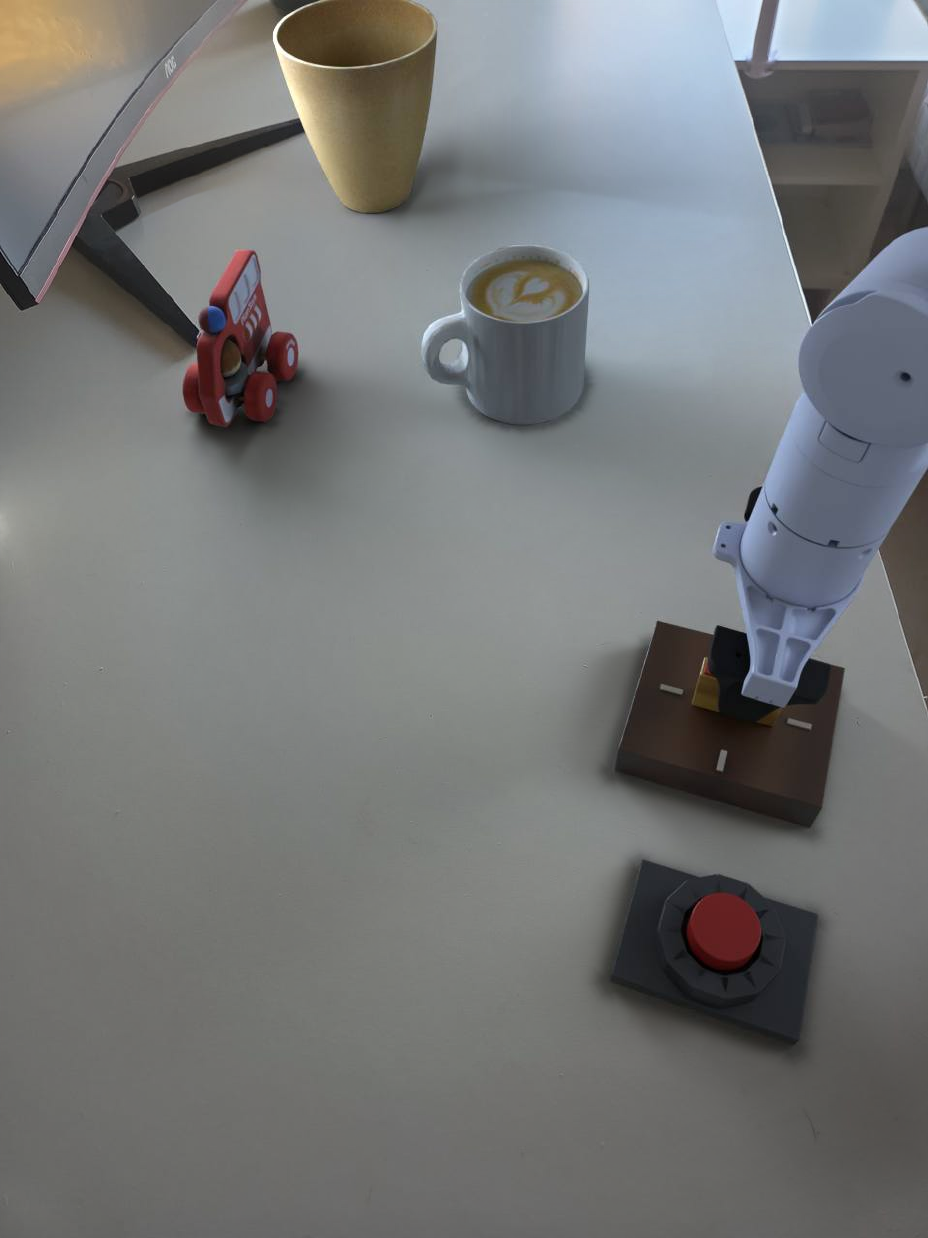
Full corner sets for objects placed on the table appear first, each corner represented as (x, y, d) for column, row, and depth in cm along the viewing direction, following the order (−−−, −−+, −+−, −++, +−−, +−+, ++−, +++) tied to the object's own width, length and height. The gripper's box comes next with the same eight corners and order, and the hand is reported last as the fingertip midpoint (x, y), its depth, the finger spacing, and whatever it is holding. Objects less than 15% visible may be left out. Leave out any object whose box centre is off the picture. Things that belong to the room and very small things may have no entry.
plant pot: (360, 253, 94) (334, 84, 81) (278, 192, 101) (242, 28, 88) (477, 194, 99) (470, 25, 86) (391, 140, 106) (373, -23, 93)
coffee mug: (572, 340, 85) (577, 237, 76) (593, 417, 79) (600, 315, 71) (421, 357, 84) (410, 256, 76) (431, 436, 79) (420, 335, 70)
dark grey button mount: (813, 921, 54) (827, 903, 52) (794, 1046, 51) (808, 1033, 48) (639, 866, 57) (645, 846, 54) (609, 982, 53) (613, 966, 50)
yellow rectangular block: (777, 708, 59) (791, 676, 56) (773, 727, 58) (787, 695, 55) (696, 686, 60) (705, 654, 57) (691, 705, 59) (700, 672, 56)
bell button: (760, 916, 52) (767, 905, 51) (748, 980, 50) (754, 971, 49) (694, 894, 53) (698, 883, 51) (679, 957, 51) (684, 948, 50)
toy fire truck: (181, 436, 80) (140, 334, 72) (236, 341, 87) (205, 237, 78) (259, 447, 79) (227, 344, 70) (309, 350, 86) (285, 246, 77)
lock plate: (832, 692, 63) (846, 666, 60) (810, 828, 57) (823, 806, 55) (651, 645, 66) (657, 618, 63) (614, 771, 60) (618, 747, 58)
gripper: (768, 366, 47) (707, 538, 58) (705, 600, 39) (650, 744, 51) (917, 402, 45) (825, 570, 57) (882, 650, 38) (784, 786, 49)
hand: (751, 654), depth 54 cm, fingers open, 7 cm apart
